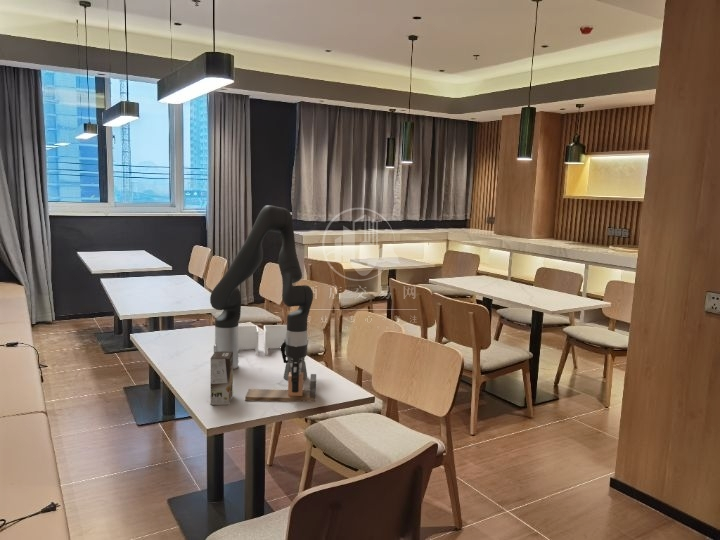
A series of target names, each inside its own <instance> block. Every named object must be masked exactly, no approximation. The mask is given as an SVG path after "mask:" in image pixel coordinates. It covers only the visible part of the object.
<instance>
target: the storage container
mask: <svg viewBox="0 0 720 540" xmlns="http://www.w3.org/2000/svg"><path fill="white" fill-rule="evenodd" d="M286 333H287V324H274V325H273V324H269V325H266V324H265V325H263V347H262V348H264V349H263V352H264V356H268V355H269V349H268V348H270V349H281V348H280V347H281V345H282V344H283V343H284V340H285V339H286ZM238 350H255V356H259V329H258V325H238Z"/></svg>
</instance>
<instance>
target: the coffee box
mask: <svg viewBox="0 0 720 540" xmlns="http://www.w3.org/2000/svg"><path fill="white" fill-rule="evenodd" d="M233 381H234V369H233V352H230V351H221V352H215V353H214V352H213V354H212V355H211V356H210V402H209V403H210V405H214V406H215V405H221V406H222V405H223V406H224V405H225V406H228V405H230V402H231V401H232V398H233V393H234V392H233V390H234V388H233V387H234V383H233Z"/></svg>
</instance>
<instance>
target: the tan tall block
mask: <svg viewBox="0 0 720 540" xmlns="http://www.w3.org/2000/svg"><path fill="white" fill-rule="evenodd" d="M293 378H297V377H293ZM287 381H288V382H287V390H288V396H302V395H303V390H304V380H303V372H301V374H300V375H299V390H298V392H292V382H291V372H289V375H288V380H287Z"/></svg>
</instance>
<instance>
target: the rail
mask: <svg viewBox="0 0 720 540" xmlns="http://www.w3.org/2000/svg"><path fill="white" fill-rule="evenodd" d="M309 377H310V378H309V389H303V395H302V396H288V389H276V388H275V389H271V388H270V389H266V388H264V389H263V388H261V389H260V388H248V390H247V392H246V394H245V401H257V402H258V401H264V402H266V401H267V402H269V401H270V402H271V401H272V402H275V401H276V402H316V398H317V397H316V395H317V374H316V373H310V376H309Z"/></svg>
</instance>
